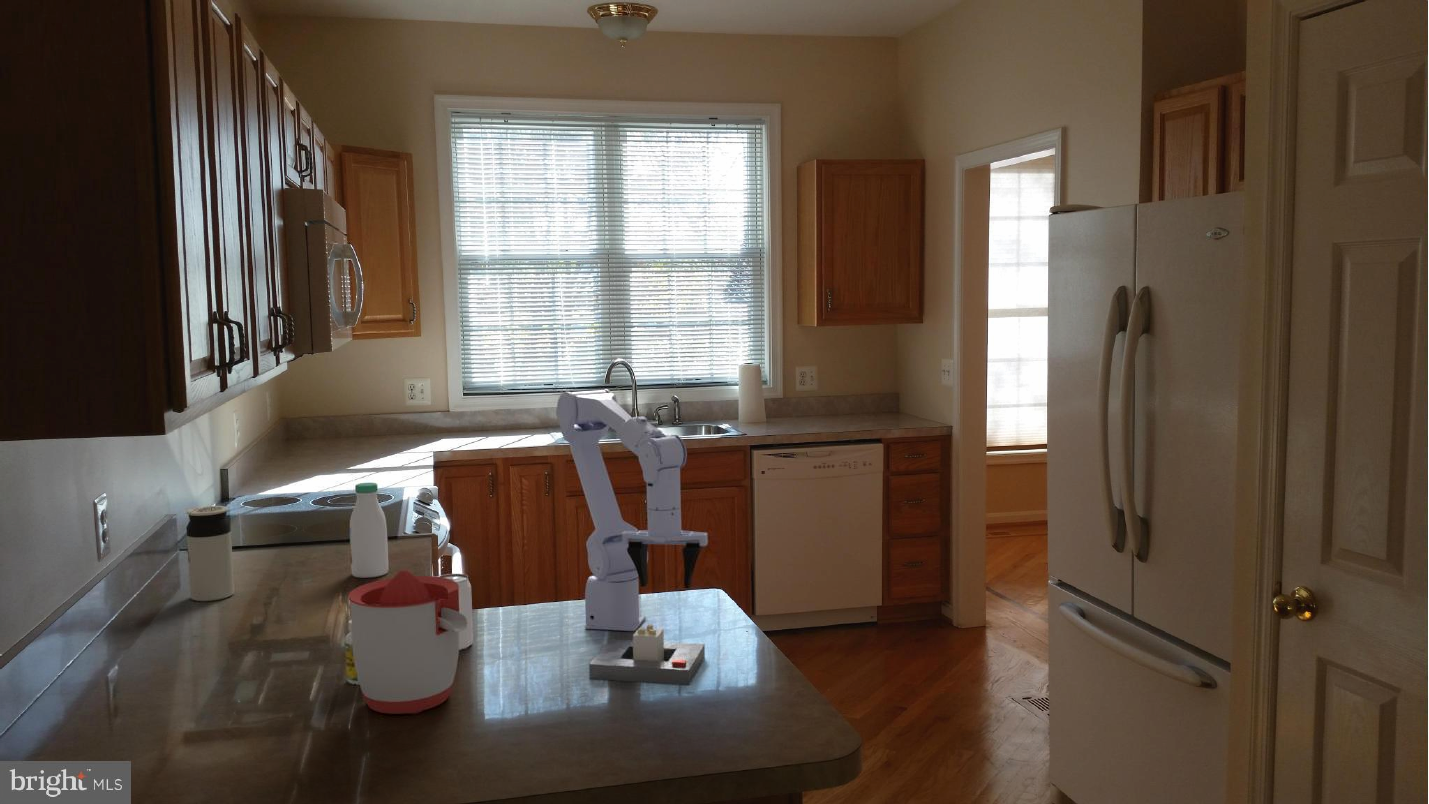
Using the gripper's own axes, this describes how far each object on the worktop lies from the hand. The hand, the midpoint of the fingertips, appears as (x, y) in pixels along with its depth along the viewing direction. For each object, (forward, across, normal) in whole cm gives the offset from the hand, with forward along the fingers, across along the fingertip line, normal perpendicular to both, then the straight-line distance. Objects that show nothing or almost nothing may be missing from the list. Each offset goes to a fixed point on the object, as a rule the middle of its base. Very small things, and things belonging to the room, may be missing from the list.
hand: (665, 586), depth 174 cm
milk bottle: (+9, -75, +35) cm, 84 cm away
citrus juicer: (+11, -31, -30) cm, 45 cm away
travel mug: (+9, -98, +14) cm, 100 cm away
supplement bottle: (+10, -43, -23) cm, 50 cm away
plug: (+11, 0, -11) cm, 15 cm away
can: (+10, -36, -6) cm, 38 cm away
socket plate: (+10, 0, -11) cm, 15 cm away
